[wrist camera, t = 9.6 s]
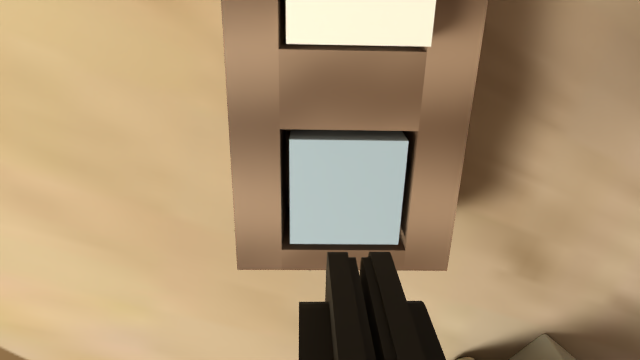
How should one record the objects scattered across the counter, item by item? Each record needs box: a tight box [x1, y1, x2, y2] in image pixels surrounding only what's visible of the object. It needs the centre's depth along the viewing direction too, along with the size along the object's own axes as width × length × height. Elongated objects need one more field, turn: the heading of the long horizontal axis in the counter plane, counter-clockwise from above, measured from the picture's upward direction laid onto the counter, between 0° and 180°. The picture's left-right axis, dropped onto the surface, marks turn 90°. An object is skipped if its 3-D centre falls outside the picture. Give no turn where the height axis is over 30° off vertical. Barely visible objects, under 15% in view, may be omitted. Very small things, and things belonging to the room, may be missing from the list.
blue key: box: [289, 129, 409, 245], centre depth 21 cm, size 5×5×4 cm
